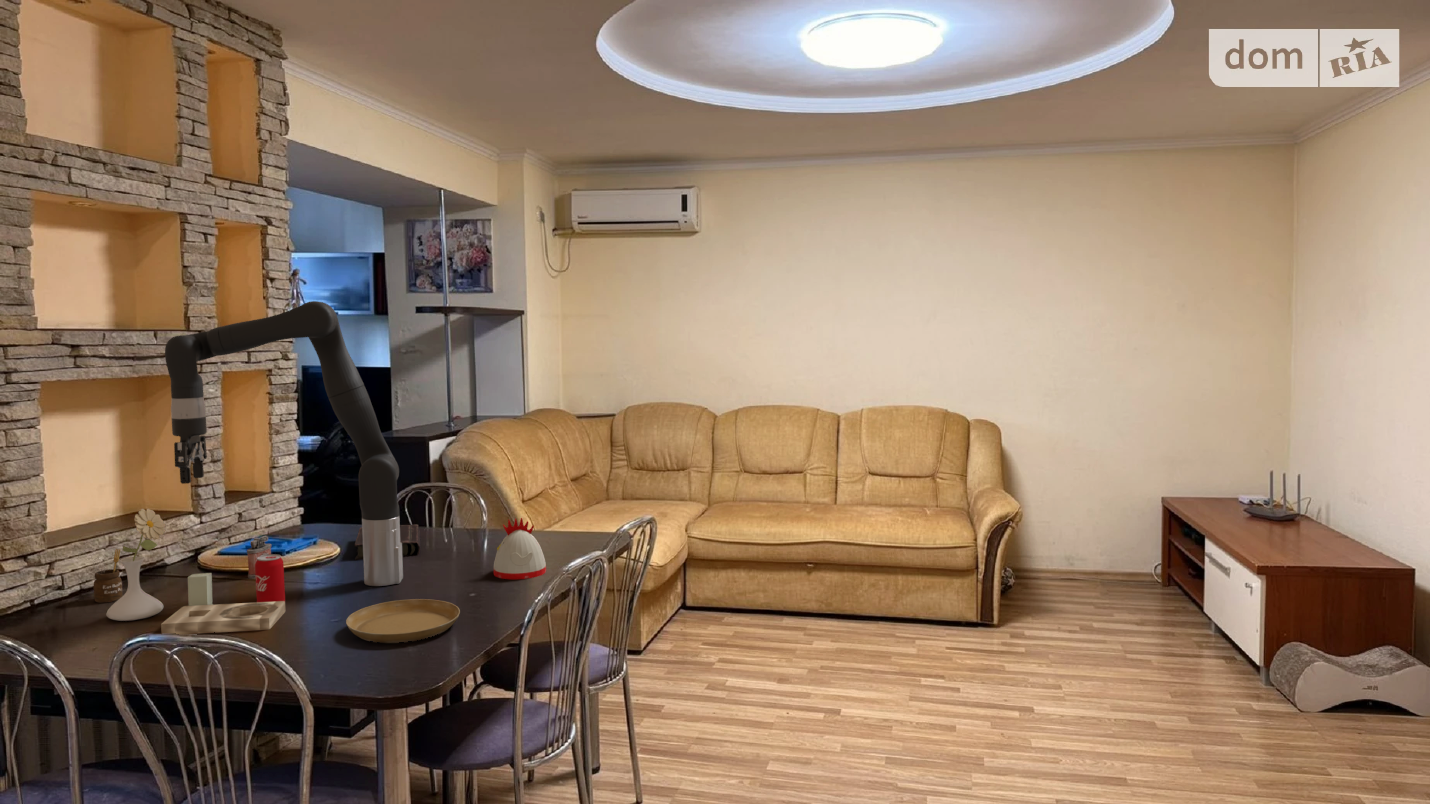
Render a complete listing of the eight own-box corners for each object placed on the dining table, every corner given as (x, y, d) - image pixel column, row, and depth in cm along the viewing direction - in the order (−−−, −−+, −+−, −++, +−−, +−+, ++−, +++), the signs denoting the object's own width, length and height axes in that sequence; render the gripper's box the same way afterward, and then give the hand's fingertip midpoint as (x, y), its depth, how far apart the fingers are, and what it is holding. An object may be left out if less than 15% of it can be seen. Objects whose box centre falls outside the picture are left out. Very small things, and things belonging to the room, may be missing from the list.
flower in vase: (122, 628, 215) (116, 518, 213) (96, 620, 221) (90, 512, 219) (181, 613, 226) (175, 508, 224) (154, 605, 232) (148, 503, 230)
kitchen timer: (491, 568, 265) (490, 514, 264) (541, 564, 269) (540, 511, 268) (496, 581, 252) (495, 525, 251) (549, 577, 256) (548, 521, 255)
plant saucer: (462, 641, 206) (461, 626, 206) (342, 653, 200) (341, 637, 199) (458, 608, 229) (458, 595, 229) (350, 618, 223) (350, 604, 222)
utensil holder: (88, 601, 235) (85, 553, 234) (112, 594, 241) (110, 547, 240) (105, 604, 233) (102, 555, 232) (129, 597, 239) (126, 549, 238)
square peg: (212, 610, 228) (211, 572, 227) (207, 614, 224) (206, 576, 224) (194, 612, 227) (193, 574, 227) (188, 616, 223) (187, 577, 223)
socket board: (285, 613, 225) (284, 600, 225) (269, 631, 213) (269, 618, 212) (184, 618, 222) (183, 606, 221) (161, 637, 209) (161, 623, 209)
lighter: (256, 578, 256) (254, 541, 255) (244, 578, 256) (242, 541, 255) (275, 570, 263) (274, 534, 263) (264, 570, 264) (262, 534, 263)
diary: (419, 539, 304) (419, 523, 304) (420, 557, 280) (419, 540, 280) (357, 542, 299) (356, 526, 298) (351, 561, 275) (351, 544, 274)
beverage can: (262, 602, 234) (260, 554, 233) (289, 601, 235) (287, 553, 234) (252, 610, 228) (250, 560, 227) (279, 609, 228) (277, 559, 227)
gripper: (194, 418, 232) (198, 484, 234) (215, 412, 246) (218, 475, 248) (160, 419, 231) (164, 486, 233) (183, 413, 245) (187, 476, 247)
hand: (192, 480), depth 240 cm, fingers open, 8 cm apart
